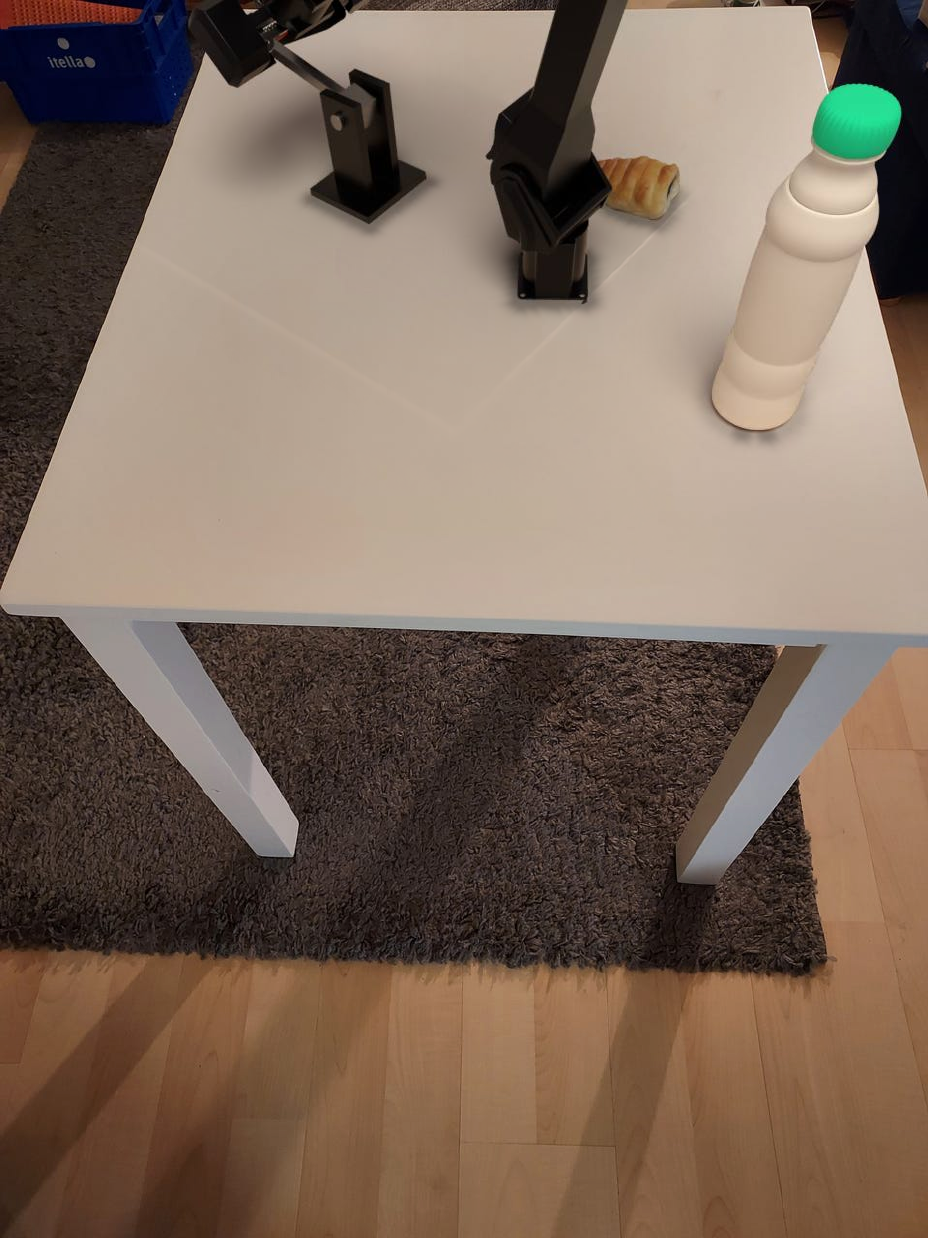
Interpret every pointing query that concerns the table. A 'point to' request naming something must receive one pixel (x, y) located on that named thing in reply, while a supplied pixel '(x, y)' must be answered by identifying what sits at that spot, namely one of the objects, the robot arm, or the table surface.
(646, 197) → the pastry
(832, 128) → the water bottle
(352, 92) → the lever
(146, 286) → the table surface
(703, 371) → the table surface
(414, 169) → the switch bracket
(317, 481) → the table surface
